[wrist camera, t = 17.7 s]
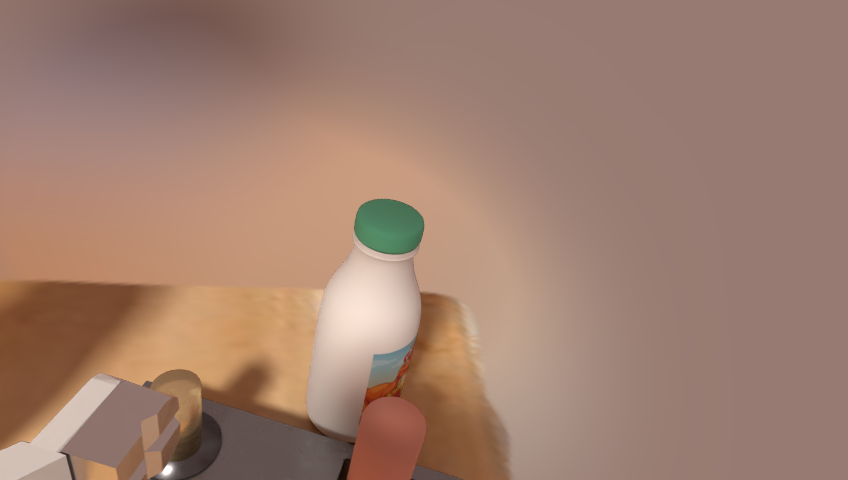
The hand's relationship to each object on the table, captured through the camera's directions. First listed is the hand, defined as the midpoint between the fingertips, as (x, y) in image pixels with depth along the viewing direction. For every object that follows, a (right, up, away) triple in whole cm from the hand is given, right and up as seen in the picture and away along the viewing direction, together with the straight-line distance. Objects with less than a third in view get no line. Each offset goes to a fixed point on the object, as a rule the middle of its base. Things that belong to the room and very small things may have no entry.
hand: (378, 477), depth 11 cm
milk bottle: (-6, -10, +37) cm, 39 cm away
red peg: (-3, -16, +29) cm, 34 cm away
